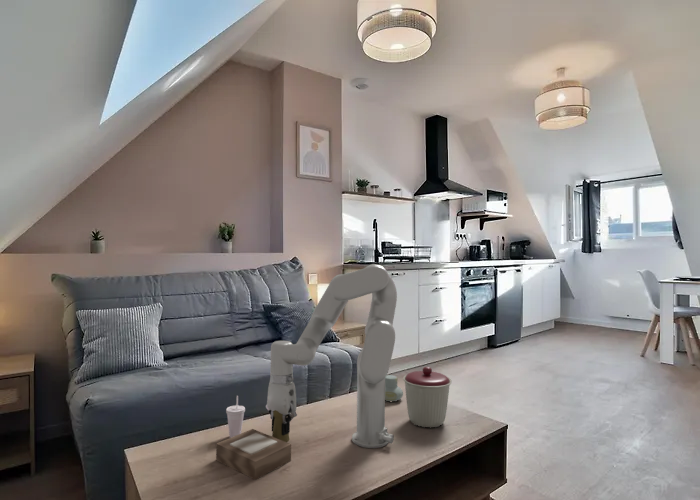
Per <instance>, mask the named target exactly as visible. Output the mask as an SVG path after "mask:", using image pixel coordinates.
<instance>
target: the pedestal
mask: <svg viewBox="0 0 700 500" xmlns="http://www.w3.org/2000/svg"><path fill="white" fill-rule="evenodd" d="M215 446H216V448H215V450H216V451H215V461H216V462H219V463H221V464H223V465H225V466H226V467H229V468H231V469H233V470H234V471H237V472H239V473H241V474H243V475H244V476H247V477H249V478H251V479H252V480H255V481H256V480H258V479H259V478H261V477H263V476H266V475H267V474H268V473H271V472H272V471H275V470H276V469H279V468H280V467H283V466H285V465H286V464H287V463H290V462H291V461H292V443H289V442H284V441H282V440H279V439H277V438H274V437H272V435H269V434H266V433H264V432H261V431H260V430H257V429H254V428H251V429H249V430H245V431H244V432H241V434H239V435H236V436H234V437H231V438H230V437H229V438H227V439H224V440H221V441H219V442H216V445H215Z"/></svg>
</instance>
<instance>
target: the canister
mask: <svg viewBox="0 0 700 500" xmlns="http://www.w3.org/2000/svg"><path fill="white" fill-rule="evenodd" d="M402 380H403V382H404V386H405V396H406V397H405V399H406V409H407V416H408V418H409V421H410V422H411V423H412V424H413V423H414V424H413V425H415V426H417V425H418V427H420V426H422V427H421V428H425V427H430V428H429V429H432V428H431V427H435V428H438V427H440V425H441V426H442V425H443V424H444V422H445V420H446V416H447V410H448V403H449V392H450V385H451V384H452V380H451V379H450V378H449V377H448V376H447V375H445V374H443V373H441V372H437V371H433V370H432V368H431V367H430V366H424V367H423V368H422V370H417V371H411V372H409V373H407V374H405V375H404V376H403V377H402Z"/></svg>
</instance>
